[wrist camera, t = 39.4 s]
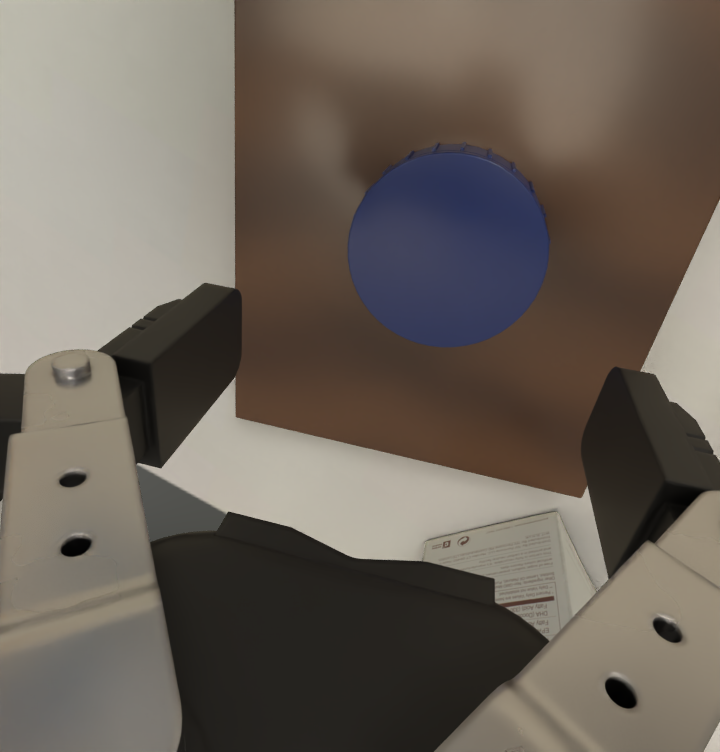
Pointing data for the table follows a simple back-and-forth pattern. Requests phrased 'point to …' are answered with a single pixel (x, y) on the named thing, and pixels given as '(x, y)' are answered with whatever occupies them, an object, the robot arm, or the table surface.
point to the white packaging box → (522, 567)
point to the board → (513, 143)
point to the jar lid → (449, 246)
